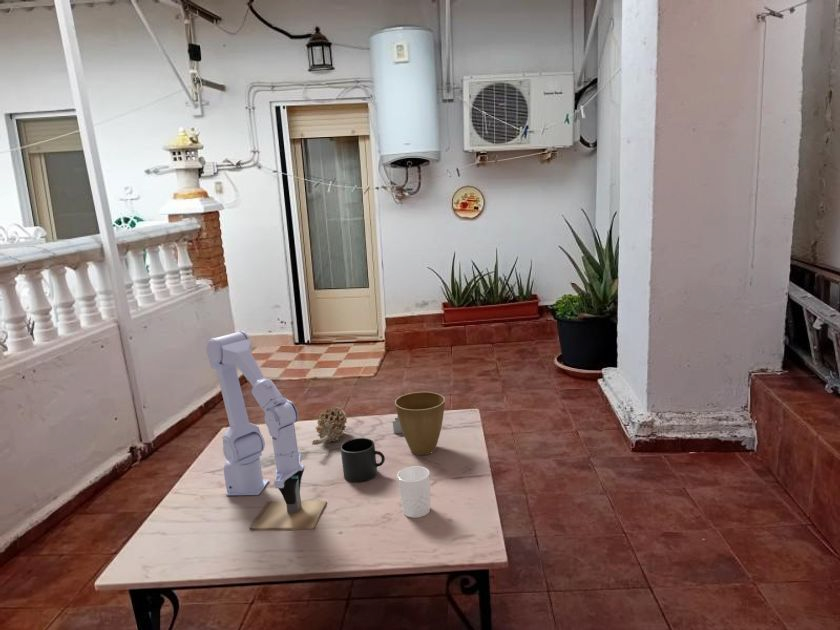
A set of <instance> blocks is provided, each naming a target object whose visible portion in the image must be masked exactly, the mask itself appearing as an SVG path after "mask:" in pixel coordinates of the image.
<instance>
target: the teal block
mask: <svg viewBox="0 0 840 630" xmlns="http://www.w3.org/2000/svg"><path fill="white" fill-rule="evenodd" d="M290 478H291V479H298V476H291V477H290ZM295 496H296V498H295V504H286V505H287V512H299V510H300V508H301V507H302V506H301V501H302V499H301V488H300V489H299V479H298V481H297V484H296V490H295Z"/></svg>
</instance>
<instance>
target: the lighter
mask: <svg viewBox="0 0 840 630" xmlns="http://www.w3.org/2000/svg"><path fill="white" fill-rule="evenodd" d="M392 430H393V434H395V435H396V434H403V431H402V428H401V425H400V422H399V419H398V415H397V416H395V417H394V418H393V419H392Z"/></svg>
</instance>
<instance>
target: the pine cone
mask: <svg viewBox="0 0 840 630" xmlns="http://www.w3.org/2000/svg"><path fill="white" fill-rule="evenodd" d="M346 414H347V413H346V411H344V410H342V409H341V407H338V406H335V407H334V408H333V407H330V408H329V409H325V411H322V412H321V413H320V414H319V417H318V418H319V419H317V425H316V427H315V430H316V433H318V435H317V436H318V437H319V439H313V440H312V442H311V445H315V446H316V445H321V444H323V443H324V442H325V443H328V444H329V443H330V444H331V442H332V441H333V442H337V441H339V440H340V438H339V437H341V436H343V434H344V431H345V430H346V428H347V426H346V423H347V422H348V421H347V419H348V418H347V416H346Z"/></svg>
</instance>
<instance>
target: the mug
mask: <svg viewBox="0 0 840 630" xmlns="http://www.w3.org/2000/svg"><path fill="white" fill-rule="evenodd" d="M340 454H341V463H342V464H341V465H342V471H343V478H344V479H345V480H346V481H348V482H351V483H363V482H368V481H370V480H372V479H374V478H375V477H376V475H377V474H378V467H382V465H383V464H385V461H386V460H385V459H386V458H385V455H384V454H383V453H382V452H381V451H379V450H376V445H375V442H374V441H373V439H371V438H365V437H358V438H353V439H349V440H347V441H345V442H343V443H342V444H341V445H340ZM376 455H379V456H380V458H381V461H380V462H377V457H376Z"/></svg>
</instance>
